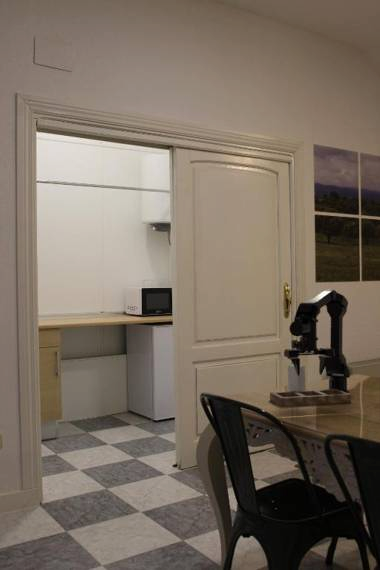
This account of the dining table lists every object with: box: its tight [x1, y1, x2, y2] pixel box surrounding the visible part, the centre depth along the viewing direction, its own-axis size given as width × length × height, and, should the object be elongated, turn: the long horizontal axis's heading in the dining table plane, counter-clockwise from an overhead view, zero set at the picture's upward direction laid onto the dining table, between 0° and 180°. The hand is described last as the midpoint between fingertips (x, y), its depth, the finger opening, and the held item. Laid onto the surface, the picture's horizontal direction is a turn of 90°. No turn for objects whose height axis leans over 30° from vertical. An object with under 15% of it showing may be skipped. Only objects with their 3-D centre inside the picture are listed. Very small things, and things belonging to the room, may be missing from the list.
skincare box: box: [287, 364, 307, 392], centre depth 236 cm, size 6×4×12 cm
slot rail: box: [269, 388, 352, 407], centre depth 223 cm, size 28×12×3 cm, turn 102°
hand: (309, 375), depth 223 cm, fingers open, 9 cm apart
